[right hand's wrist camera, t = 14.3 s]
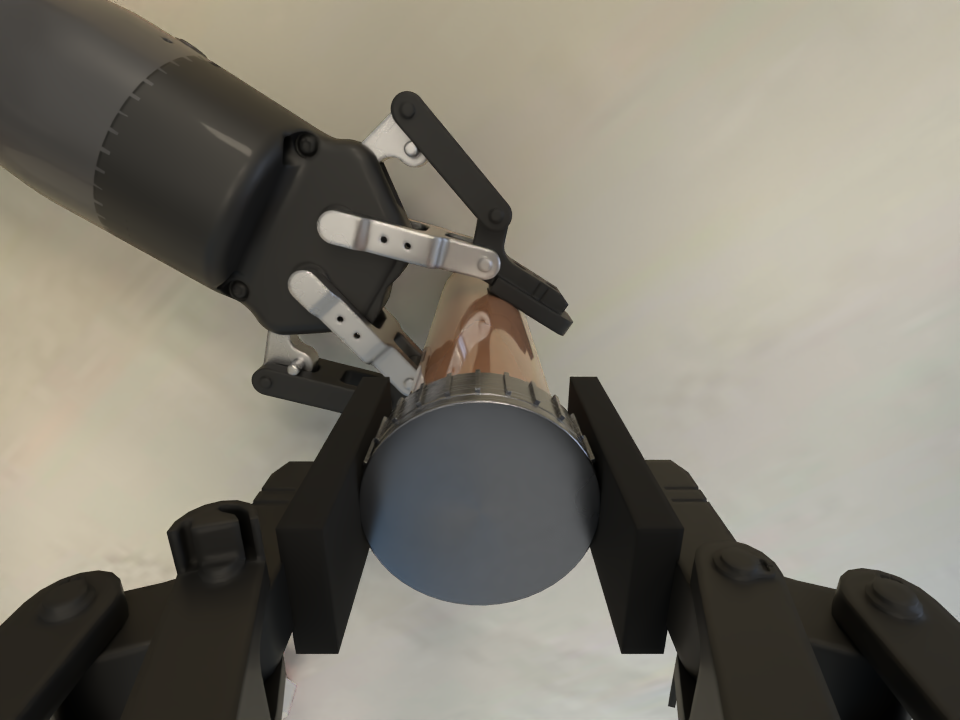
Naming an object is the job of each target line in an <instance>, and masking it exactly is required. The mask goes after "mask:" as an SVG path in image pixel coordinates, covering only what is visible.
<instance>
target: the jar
mask: <svg viewBox="0 0 960 720" xmlns="http://www.w3.org/2000/svg"><path fill="white" fill-rule="evenodd" d="M476 369H480V373H495V374H502V375H504V372H508V373H509V376H511V377H515V378H518V379H521V380H523V381H526V382H528V383H530V382H531V381H534V382H535V383H536V386H537V387H538V388H540V389H542V390H544V391H545V392H547V393H548V394H549V395H551V394H550V391H549V388H548V385H547V382H546V379H545V376H544V373H543V370H542V366H541V363H540V360H539V357H538V354H537V351H536V348H535V345H534V342H533V338H532V335H531V332H530V329H529V326H528V323H527V320H526V317H525V314H524V313H523V312H521V311H520V310H518V309H517V308H515V307H513V306H512V305H511V304H509V303H507V302H506V301H504V300H502V299H500V298H499V297H497V296H495V295H494V294H492V293H491V292H489V285H488V283H486V282H484V281H483V280H481V279H478V278H474V277H470V276H466V275H463V274H459V273H455V272H454V273H453V274H452V275H451V276H450V277H449V279H448V280H447V281H446V283H445V285H444V287H443V290H442V293H441V296H440V300H439V303H438V306H437V309H436V312H435V315H434V318H433V321H432V324H431V327H430V331H429V334H428V337H427V340H426V343H425V346H424V349H423V352H422V355H421V359H420V362H419V365H418V368H417V371H416V374H415V377H414V380H413V383H412V387H411V390H410V393H409V395H410V394H412V393H413V392H414V391H416V390H417V389H419V388H420V385H421V384H422V383H424V382H425V383H426V385H427V384H429V383H431V382H433V381H436V380H439V379H442V378H444V377H446V376H447V374H448V373H452V376H453V375H457V374H464V373H473V372H475V370H476Z"/></svg>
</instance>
